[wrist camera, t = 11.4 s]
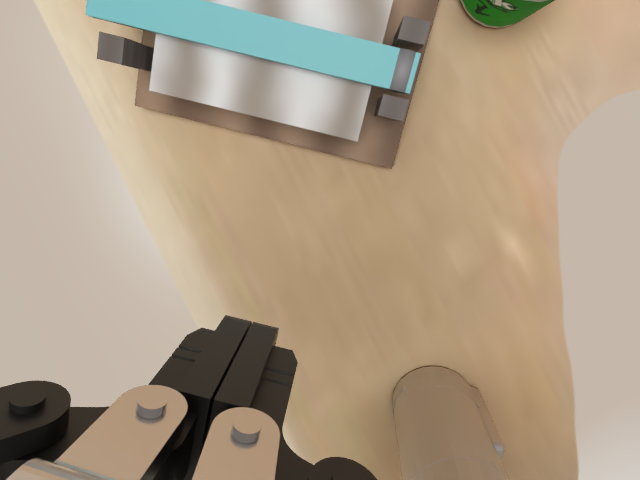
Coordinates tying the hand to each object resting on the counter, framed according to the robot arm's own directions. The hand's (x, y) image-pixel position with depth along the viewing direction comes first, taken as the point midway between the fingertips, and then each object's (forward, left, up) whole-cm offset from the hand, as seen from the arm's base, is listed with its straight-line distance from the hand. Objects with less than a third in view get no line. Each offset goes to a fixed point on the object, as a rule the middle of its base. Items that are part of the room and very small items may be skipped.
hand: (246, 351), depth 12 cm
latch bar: (+8, -11, -27) cm, 30 cm away
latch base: (+7, -11, -35) cm, 37 cm away
